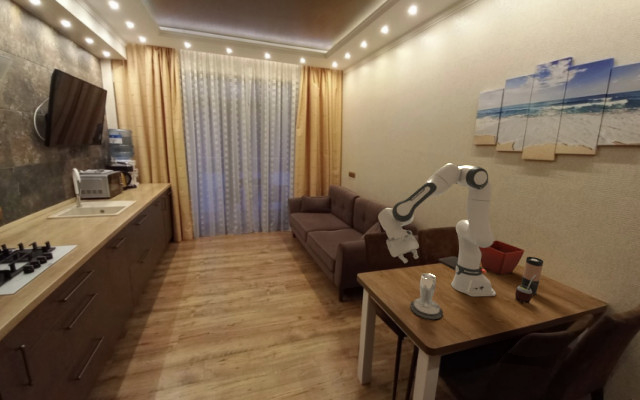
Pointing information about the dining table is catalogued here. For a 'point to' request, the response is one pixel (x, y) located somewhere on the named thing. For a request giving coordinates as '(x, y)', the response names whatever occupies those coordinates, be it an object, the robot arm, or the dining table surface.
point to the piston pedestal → (426, 310)
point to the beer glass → (427, 289)
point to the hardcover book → (449, 261)
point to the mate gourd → (524, 293)
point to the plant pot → (500, 257)
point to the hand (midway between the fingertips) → (411, 260)
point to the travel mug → (532, 273)
